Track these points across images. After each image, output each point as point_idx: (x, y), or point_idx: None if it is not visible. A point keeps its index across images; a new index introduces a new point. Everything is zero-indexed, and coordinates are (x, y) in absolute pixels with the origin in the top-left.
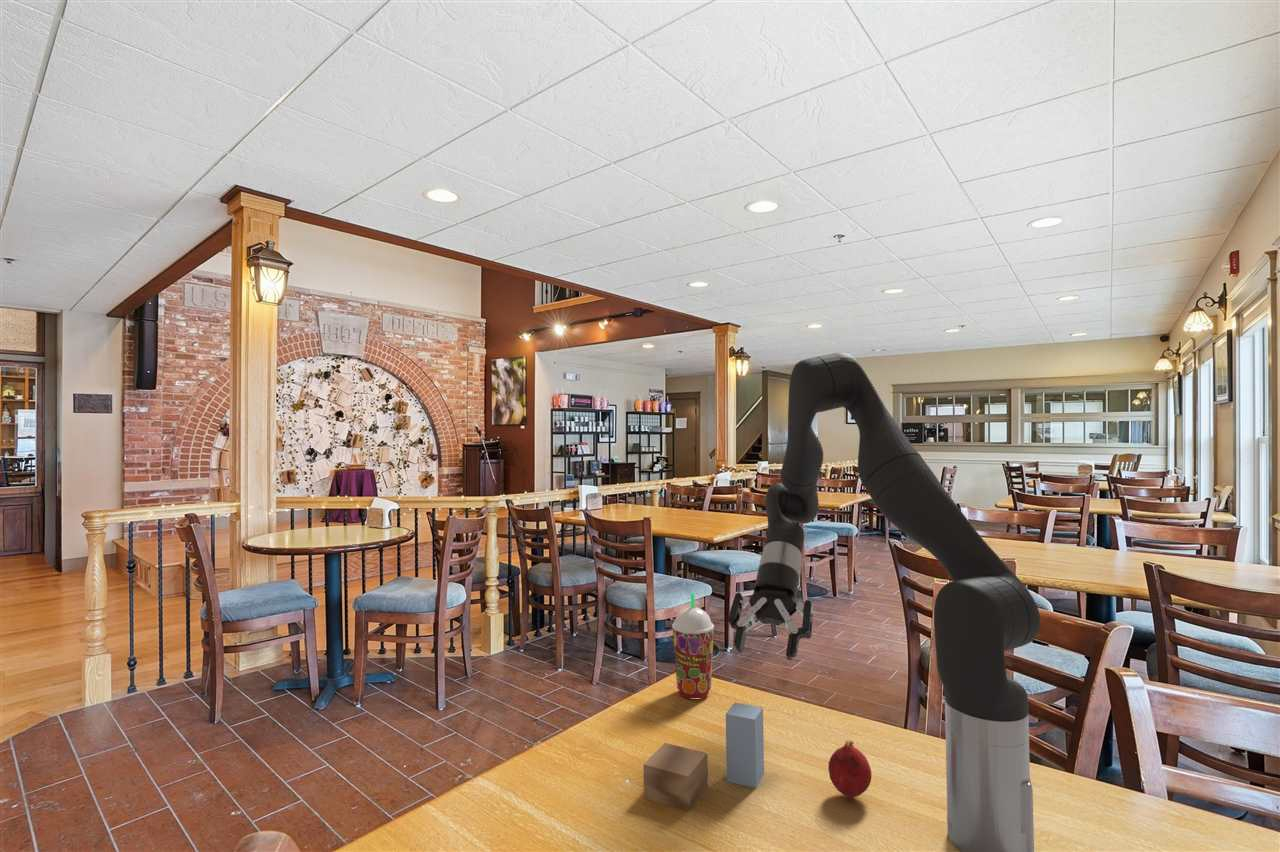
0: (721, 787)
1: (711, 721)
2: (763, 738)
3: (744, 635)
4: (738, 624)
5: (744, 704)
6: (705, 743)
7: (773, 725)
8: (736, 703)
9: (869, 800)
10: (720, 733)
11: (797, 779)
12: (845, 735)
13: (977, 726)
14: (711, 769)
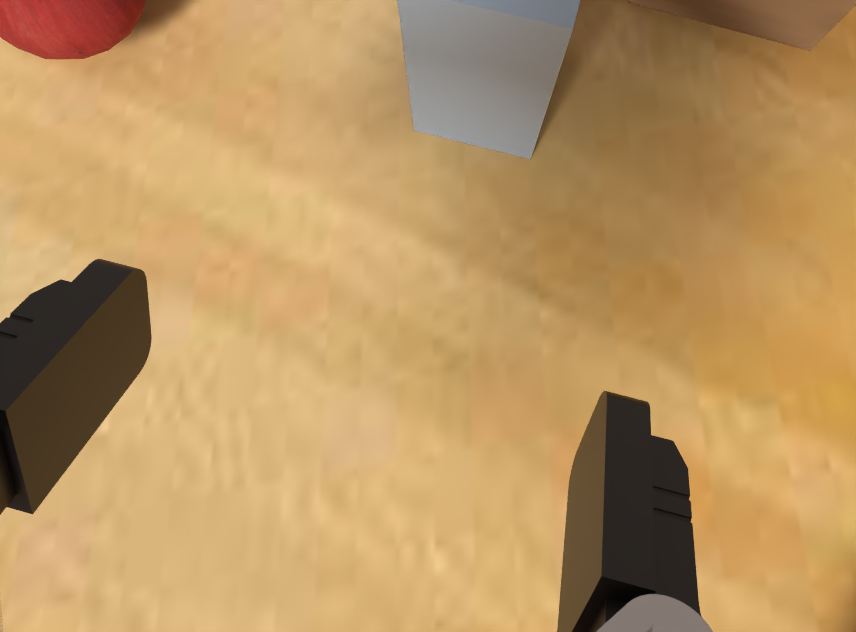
0: None
1: None
2: (406, 69)
3: (577, 578)
4: (691, 627)
5: (509, 6)
6: (682, 332)
7: (367, 574)
8: (560, 12)
9: None
10: None
11: (284, 110)
12: (32, 525)
13: None
14: (628, 120)
